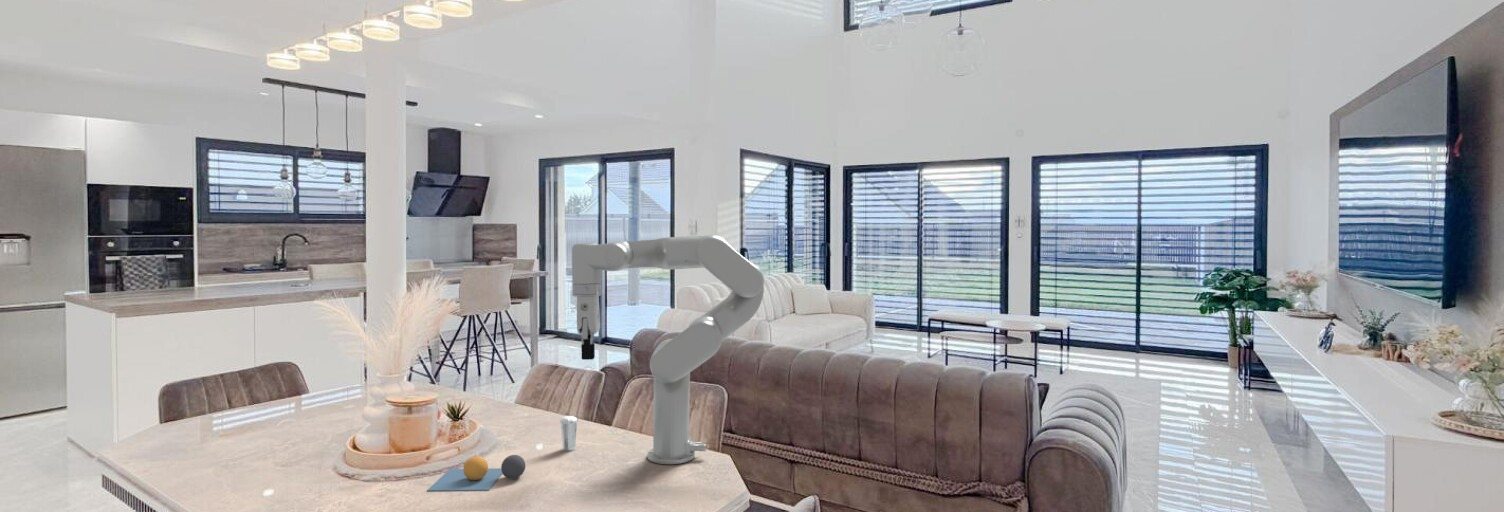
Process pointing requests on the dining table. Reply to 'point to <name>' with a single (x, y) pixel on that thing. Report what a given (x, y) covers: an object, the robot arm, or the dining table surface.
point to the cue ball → (513, 466)
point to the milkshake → (569, 432)
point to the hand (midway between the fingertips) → (588, 358)
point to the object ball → (475, 468)
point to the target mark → (465, 481)
